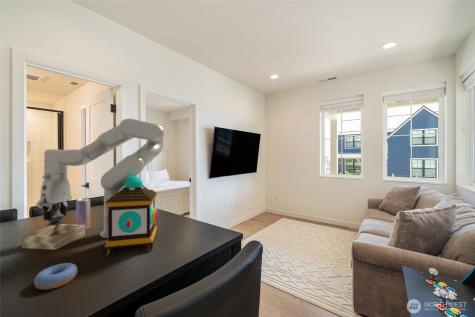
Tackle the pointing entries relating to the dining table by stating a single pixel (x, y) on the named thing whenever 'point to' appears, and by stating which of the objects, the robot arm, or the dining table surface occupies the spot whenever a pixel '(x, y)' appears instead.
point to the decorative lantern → (131, 216)
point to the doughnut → (55, 276)
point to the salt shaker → (55, 215)
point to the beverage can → (83, 212)
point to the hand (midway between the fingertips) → (55, 217)
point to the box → (53, 236)
